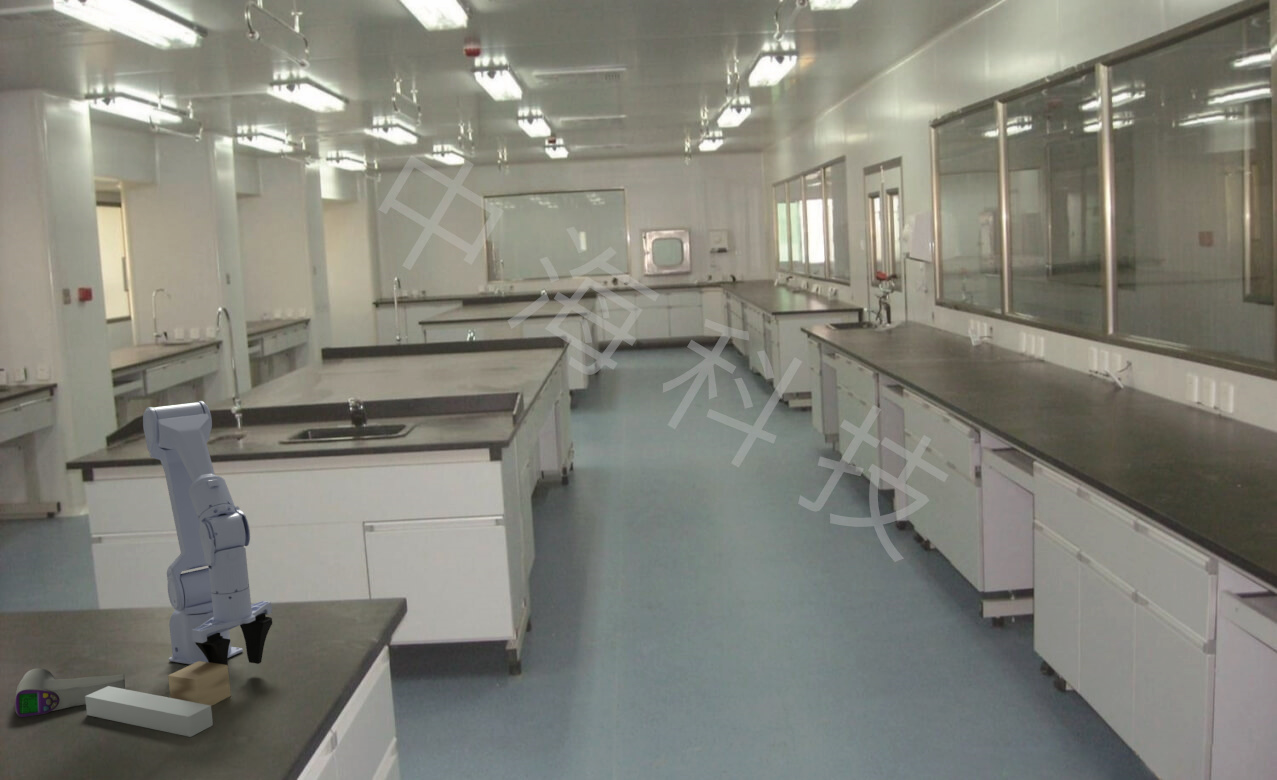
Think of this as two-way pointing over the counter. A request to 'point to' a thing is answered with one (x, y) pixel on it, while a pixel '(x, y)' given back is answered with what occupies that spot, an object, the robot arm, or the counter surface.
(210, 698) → the block
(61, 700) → the infrared thermometer
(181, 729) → the board
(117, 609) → the counter surface
